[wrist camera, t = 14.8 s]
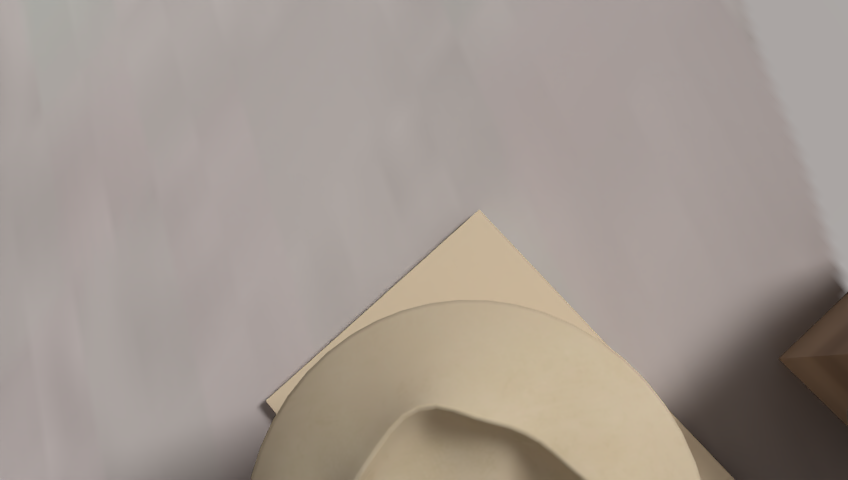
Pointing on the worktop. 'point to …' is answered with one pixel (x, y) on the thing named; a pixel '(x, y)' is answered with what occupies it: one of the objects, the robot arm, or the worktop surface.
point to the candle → (473, 405)
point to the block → (824, 359)
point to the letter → (480, 280)
